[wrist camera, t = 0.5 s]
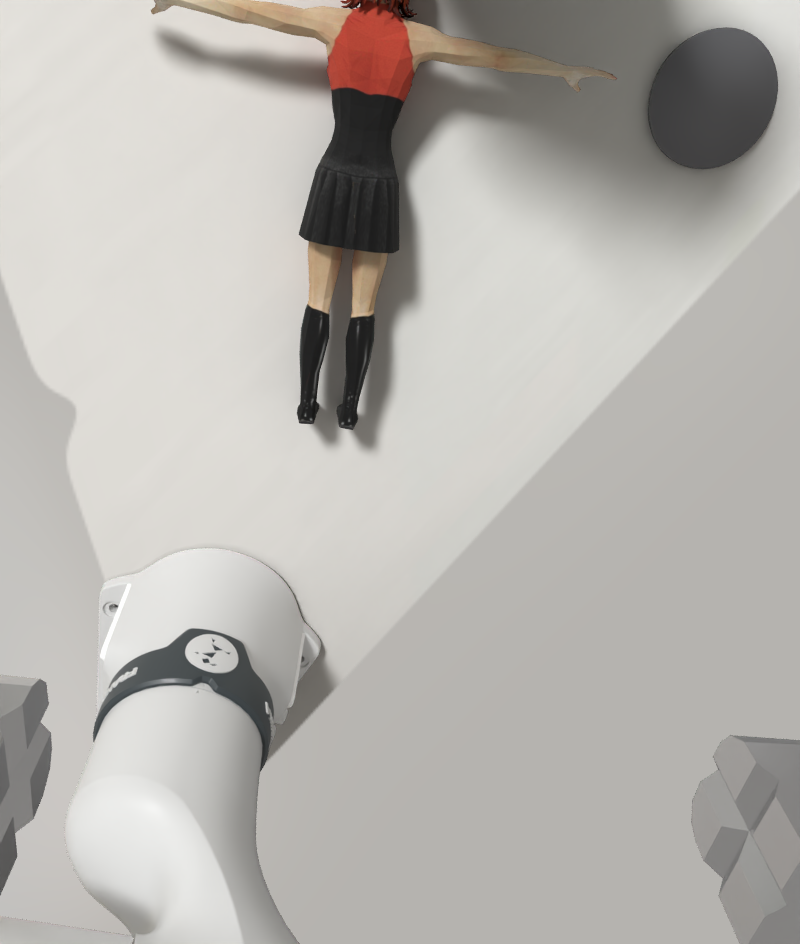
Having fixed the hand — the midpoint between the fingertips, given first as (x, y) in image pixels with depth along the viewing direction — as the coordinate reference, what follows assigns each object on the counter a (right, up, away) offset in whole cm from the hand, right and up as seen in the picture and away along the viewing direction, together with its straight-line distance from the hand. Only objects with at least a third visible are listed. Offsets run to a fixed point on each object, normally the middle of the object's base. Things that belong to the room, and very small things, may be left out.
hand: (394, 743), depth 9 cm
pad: (+20, +27, +39) cm, 52 cm away
